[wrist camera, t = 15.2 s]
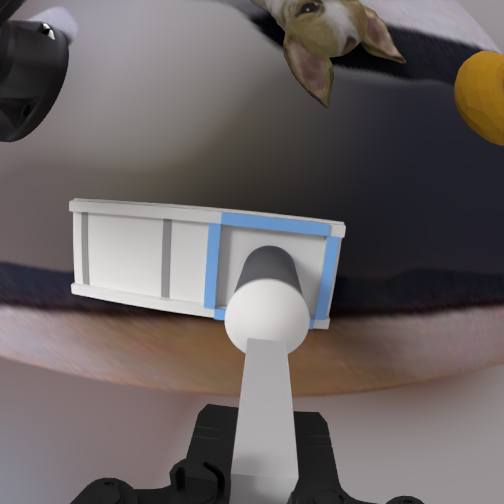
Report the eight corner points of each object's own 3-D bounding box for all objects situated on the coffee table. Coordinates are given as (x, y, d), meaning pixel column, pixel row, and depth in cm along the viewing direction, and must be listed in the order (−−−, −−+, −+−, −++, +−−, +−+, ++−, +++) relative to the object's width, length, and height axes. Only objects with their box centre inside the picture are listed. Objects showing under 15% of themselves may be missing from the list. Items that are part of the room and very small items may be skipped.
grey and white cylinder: (244, 241, 28) (227, 277, 17) (299, 247, 27) (315, 286, 17) (240, 293, 29) (222, 353, 18) (293, 298, 28) (302, 361, 18)
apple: (507, 137, 24) (562, 132, 15) (456, 159, 25) (513, 156, 16) (476, 62, 22) (524, 38, 14) (420, 75, 24) (467, 45, 15)
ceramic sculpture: (317, -85, 13) (440, 40, 16) (305, -37, 21) (398, 67, 24) (207, -42, 15) (336, 98, 18) (220, 5, 23) (314, 117, 26)
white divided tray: (76, 198, 28) (67, 199, 27) (342, 221, 27) (347, 224, 26) (78, 291, 30) (70, 296, 29) (325, 325, 29) (328, 332, 28)
